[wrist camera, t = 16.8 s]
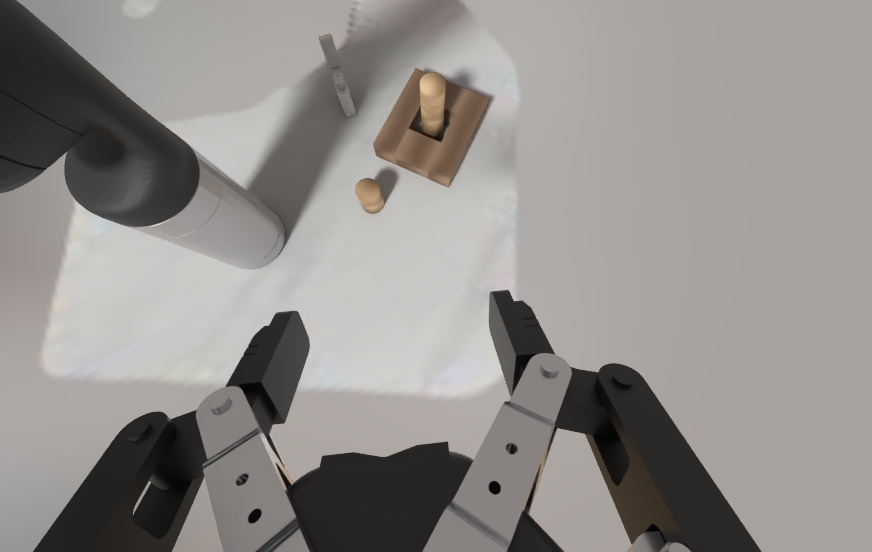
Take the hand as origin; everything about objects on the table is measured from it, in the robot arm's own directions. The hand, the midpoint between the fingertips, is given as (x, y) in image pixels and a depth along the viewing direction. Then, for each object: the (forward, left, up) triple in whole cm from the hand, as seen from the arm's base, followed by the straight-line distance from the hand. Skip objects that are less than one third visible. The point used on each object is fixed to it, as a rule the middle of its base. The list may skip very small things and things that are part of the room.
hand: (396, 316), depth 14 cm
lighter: (-26, +28, -31) cm, 49 cm away
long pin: (-11, +28, -31) cm, 43 cm away
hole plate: (-11, +28, -31) cm, 43 cm away
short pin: (-14, +14, -31) cm, 36 cm away
